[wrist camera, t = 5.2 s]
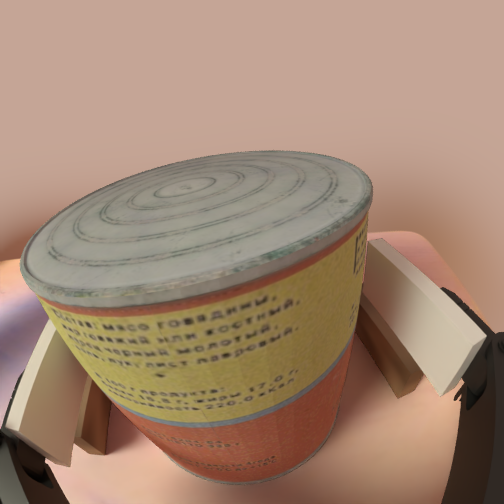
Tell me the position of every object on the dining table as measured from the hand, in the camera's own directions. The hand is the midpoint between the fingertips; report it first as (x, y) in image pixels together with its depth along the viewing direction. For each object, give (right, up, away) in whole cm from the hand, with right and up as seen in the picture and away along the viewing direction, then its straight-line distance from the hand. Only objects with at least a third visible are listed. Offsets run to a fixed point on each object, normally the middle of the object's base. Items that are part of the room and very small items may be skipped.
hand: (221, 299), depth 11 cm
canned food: (+1, -7, +3) cm, 7 cm away
